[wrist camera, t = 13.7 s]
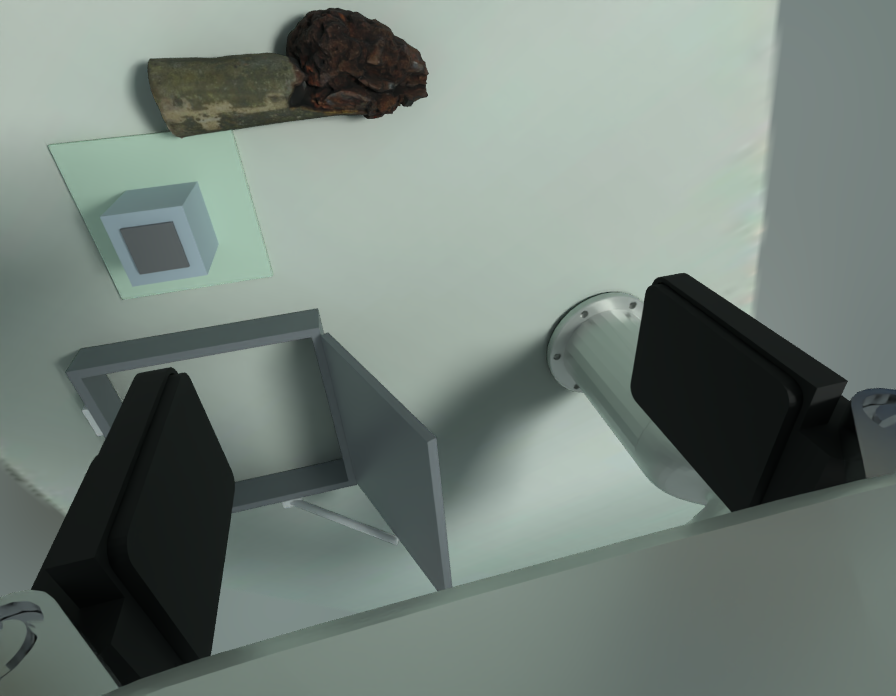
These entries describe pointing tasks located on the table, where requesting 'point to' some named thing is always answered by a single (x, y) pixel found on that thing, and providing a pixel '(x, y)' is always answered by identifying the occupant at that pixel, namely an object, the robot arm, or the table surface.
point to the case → (167, 348)
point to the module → (162, 233)
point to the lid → (392, 462)
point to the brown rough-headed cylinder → (293, 78)
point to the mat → (158, 164)
